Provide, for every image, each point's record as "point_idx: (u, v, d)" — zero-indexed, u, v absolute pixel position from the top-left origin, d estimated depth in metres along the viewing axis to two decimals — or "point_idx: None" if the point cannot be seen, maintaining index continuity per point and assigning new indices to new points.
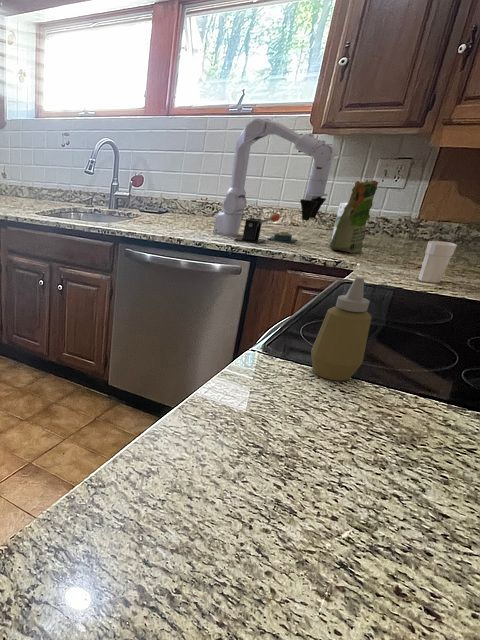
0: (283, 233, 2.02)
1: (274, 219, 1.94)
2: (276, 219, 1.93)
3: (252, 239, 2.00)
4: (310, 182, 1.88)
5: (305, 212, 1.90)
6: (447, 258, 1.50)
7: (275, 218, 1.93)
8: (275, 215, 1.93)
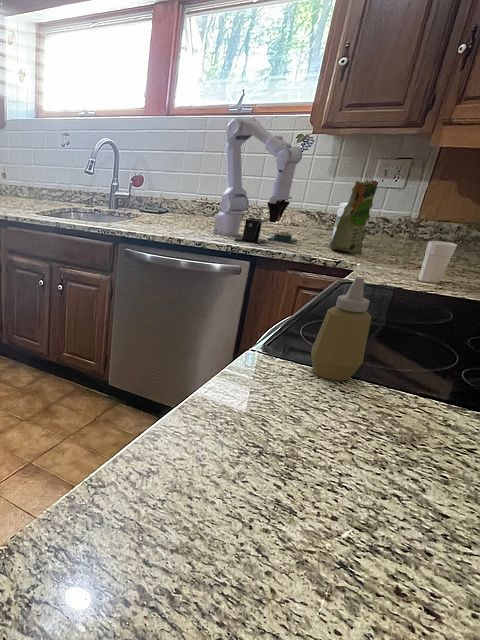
0: (283, 233, 2.02)
1: None
2: None
3: (252, 239, 2.00)
4: (275, 185, 1.89)
5: (272, 214, 1.93)
6: (447, 258, 1.50)
7: None
8: None
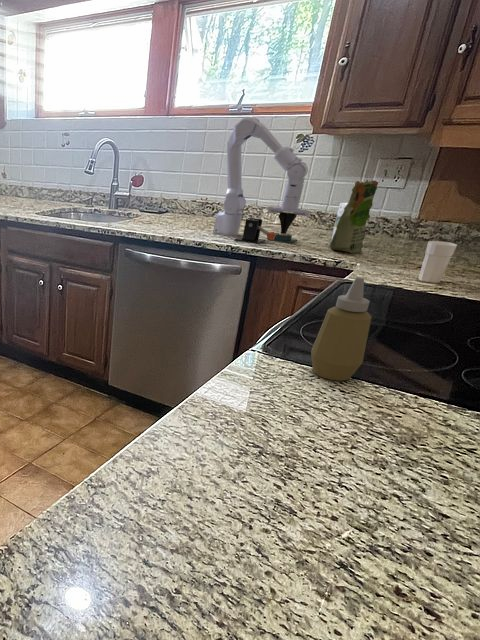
0: None
1: (268, 237, 1.97)
2: (269, 238, 1.97)
3: (252, 239, 2.00)
4: (296, 199, 1.95)
5: (287, 226, 2.01)
6: (447, 258, 1.50)
7: (270, 237, 1.96)
8: (272, 235, 1.96)
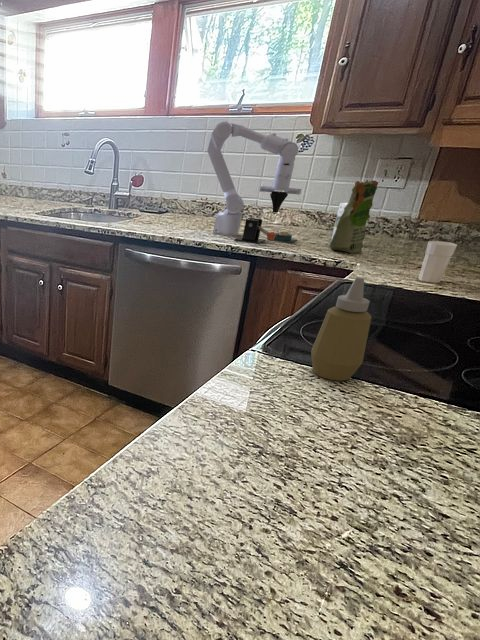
0: (283, 233, 2.02)
1: (268, 237, 1.97)
2: (269, 238, 1.97)
3: (252, 239, 2.00)
4: (287, 178, 1.99)
5: (278, 205, 2.05)
6: (447, 258, 1.50)
7: (270, 237, 1.96)
8: (272, 235, 1.96)
